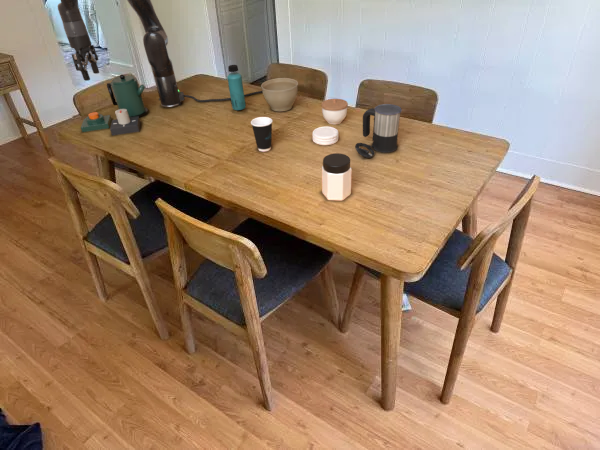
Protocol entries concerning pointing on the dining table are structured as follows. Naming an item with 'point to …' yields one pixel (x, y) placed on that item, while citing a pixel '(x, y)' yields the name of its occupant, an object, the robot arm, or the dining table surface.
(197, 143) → the dining table surface
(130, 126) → the dial base
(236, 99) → the beverage bottle
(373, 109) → the milk frother
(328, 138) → the coaster
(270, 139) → the dixie cup
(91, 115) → the button
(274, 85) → the planter bowl
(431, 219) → the dining table surface
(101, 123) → the switch block
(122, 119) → the dial
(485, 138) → the dining table surface
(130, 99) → the kettle
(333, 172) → the jar
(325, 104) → the trinket box
